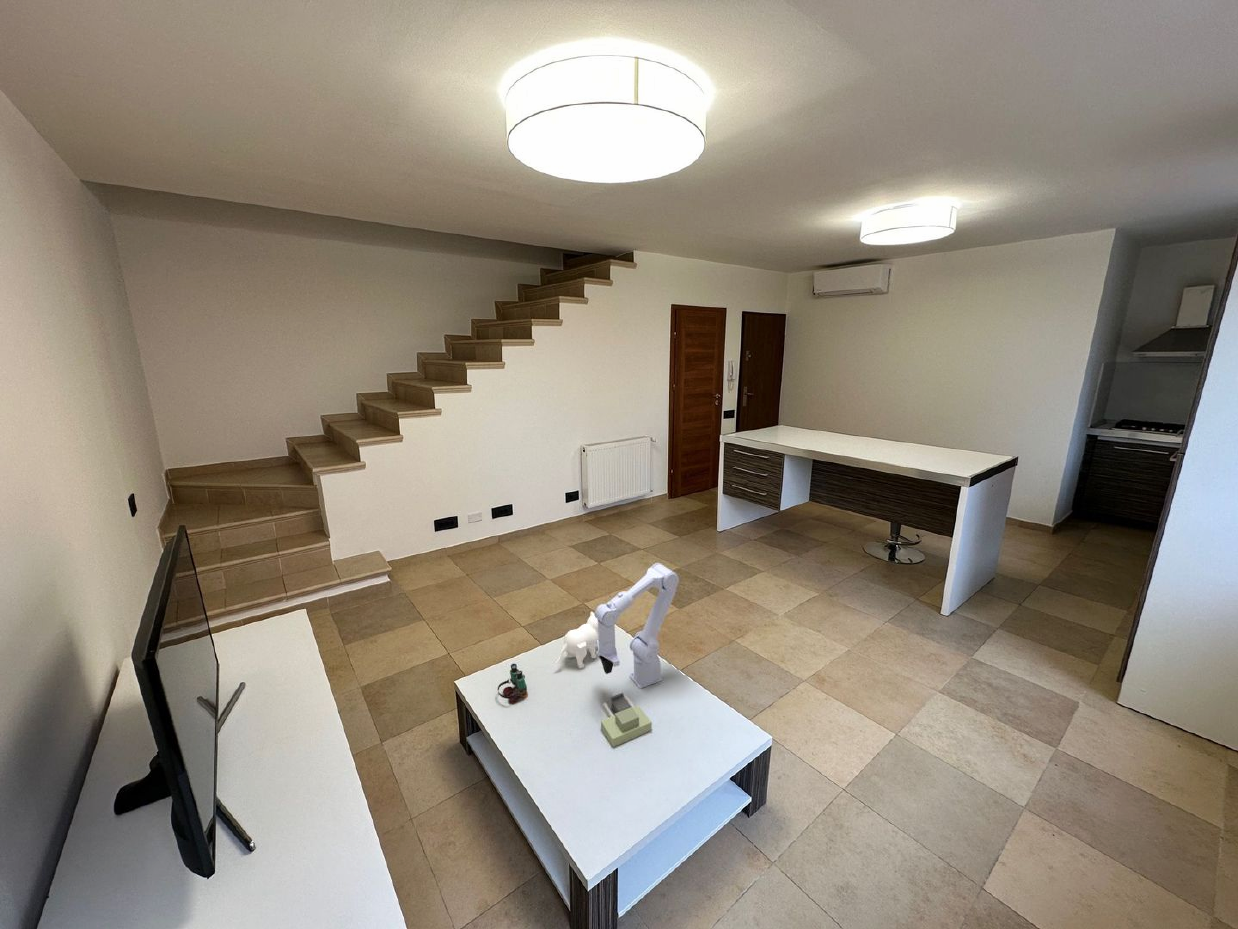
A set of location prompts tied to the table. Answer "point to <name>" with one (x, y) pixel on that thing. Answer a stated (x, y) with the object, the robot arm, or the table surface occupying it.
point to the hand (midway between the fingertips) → (608, 672)
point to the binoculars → (515, 685)
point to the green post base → (625, 724)
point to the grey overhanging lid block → (619, 703)
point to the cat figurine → (581, 641)
